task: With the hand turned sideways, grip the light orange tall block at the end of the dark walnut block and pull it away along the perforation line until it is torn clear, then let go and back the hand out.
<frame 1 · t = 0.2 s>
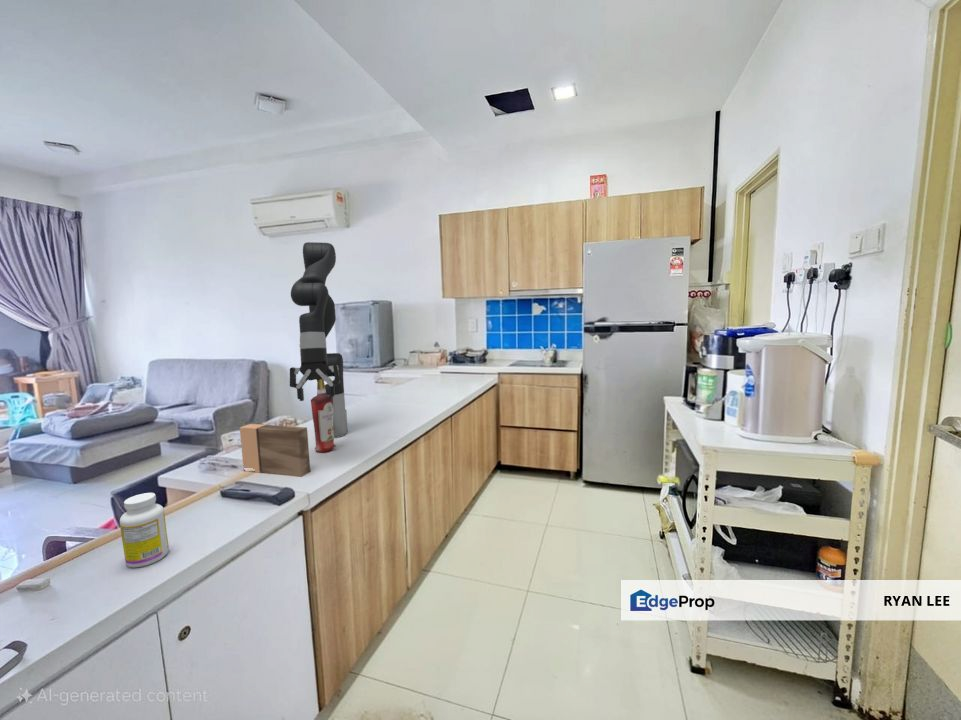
hand: (316, 399, 119), 22 cm above the worktop, fingers open, 8 cm apart
liquor: (325, 451, 138), on the worktop
ticket block: (285, 473, 119), on the worktop
supplement bottle: (148, 559, 77), on the worktop
light orange tall block: (254, 447, 120), point 7 cm above the worktop, slide at 0.0 cm
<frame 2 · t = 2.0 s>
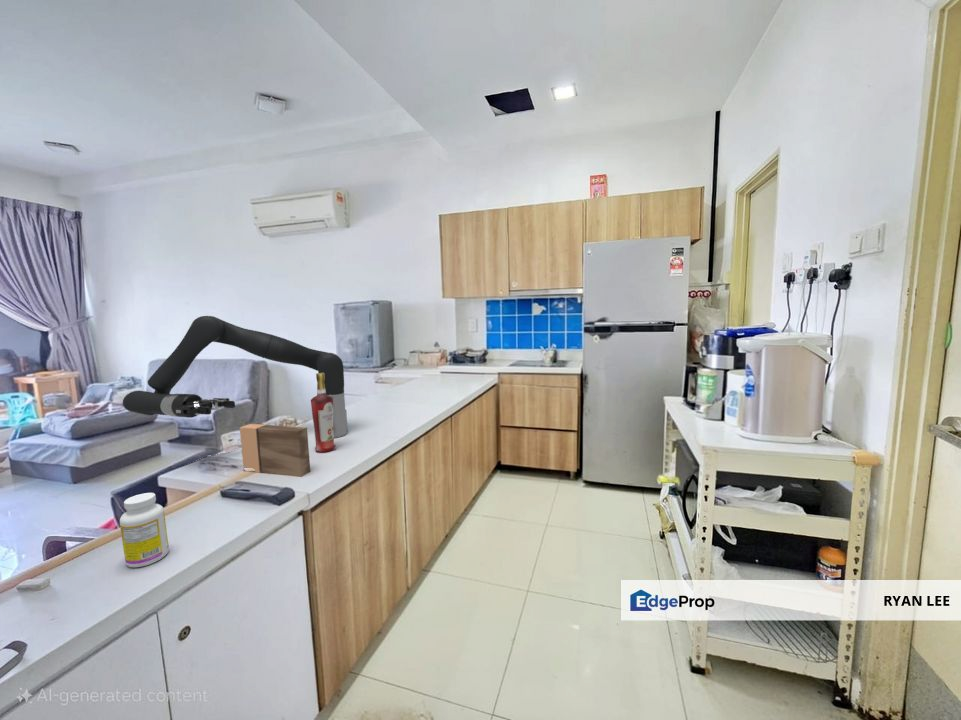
hand: (222, 407, 121), 20 cm above the worktop, fingers open, 8 cm apart
nothing on the worktop moved.
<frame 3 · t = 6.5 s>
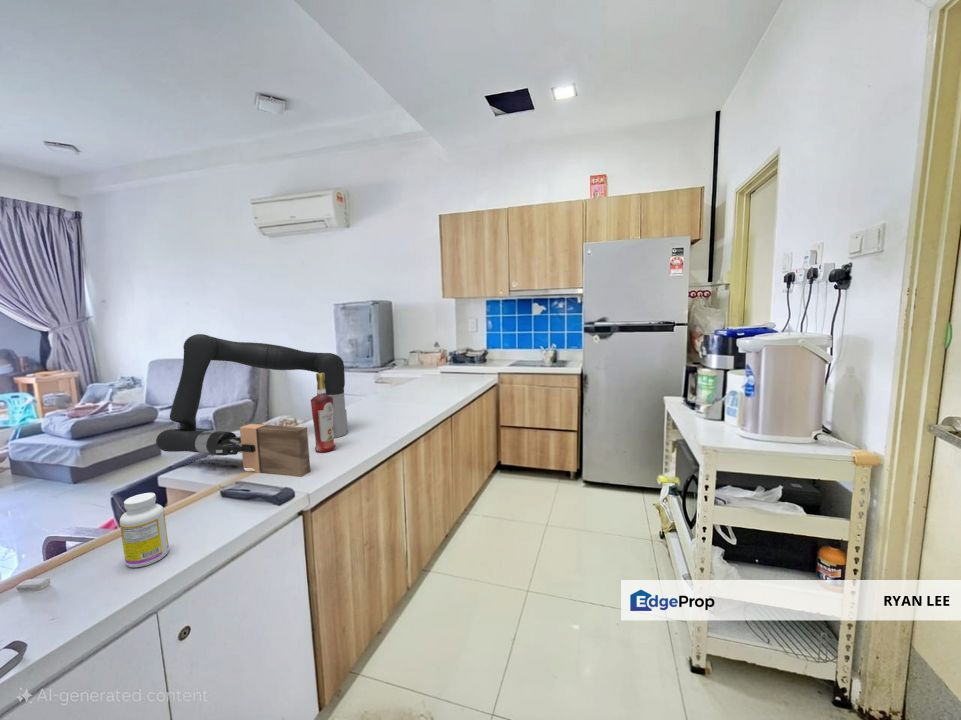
hand: (260, 446, 120), 8 cm above the worktop, fingers closed on light orange tall block, 4 cm apart
light orange tall block: (254, 447, 120), point 7 cm above the worktop, slide at 0.0 cm, touching gripper
everything else where it was.
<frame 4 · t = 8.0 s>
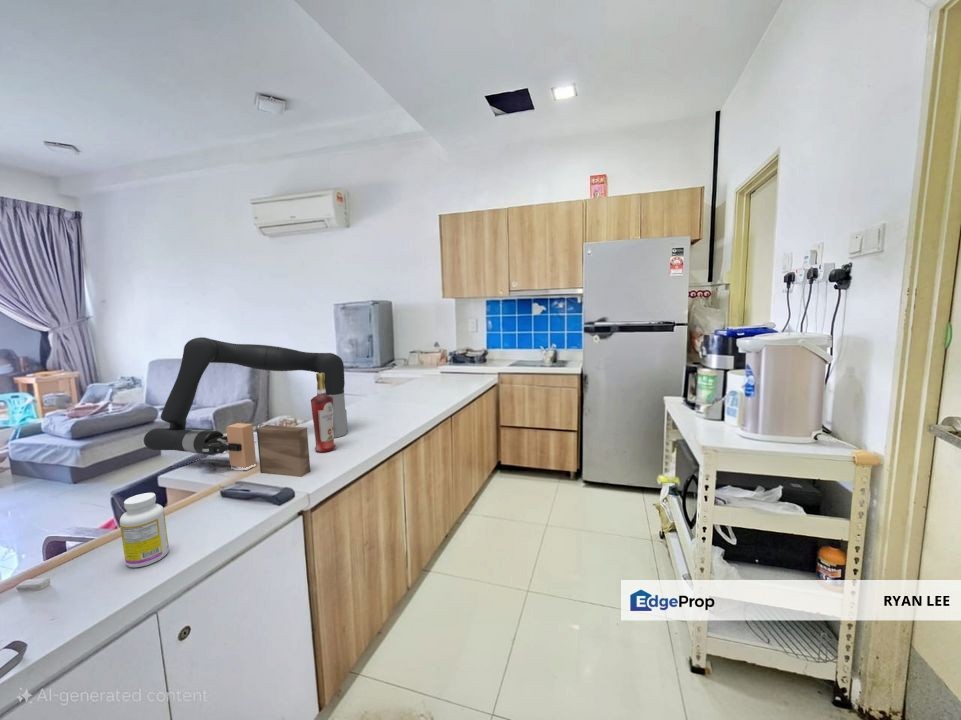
hand: (246, 445, 121), 8 cm above the worktop, fingers closed on light orange tall block, 4 cm apart
light orange tall block: (241, 446, 122), point 7 cm above the worktop, slide at 5.1 cm, touching gripper
everything else where it was.
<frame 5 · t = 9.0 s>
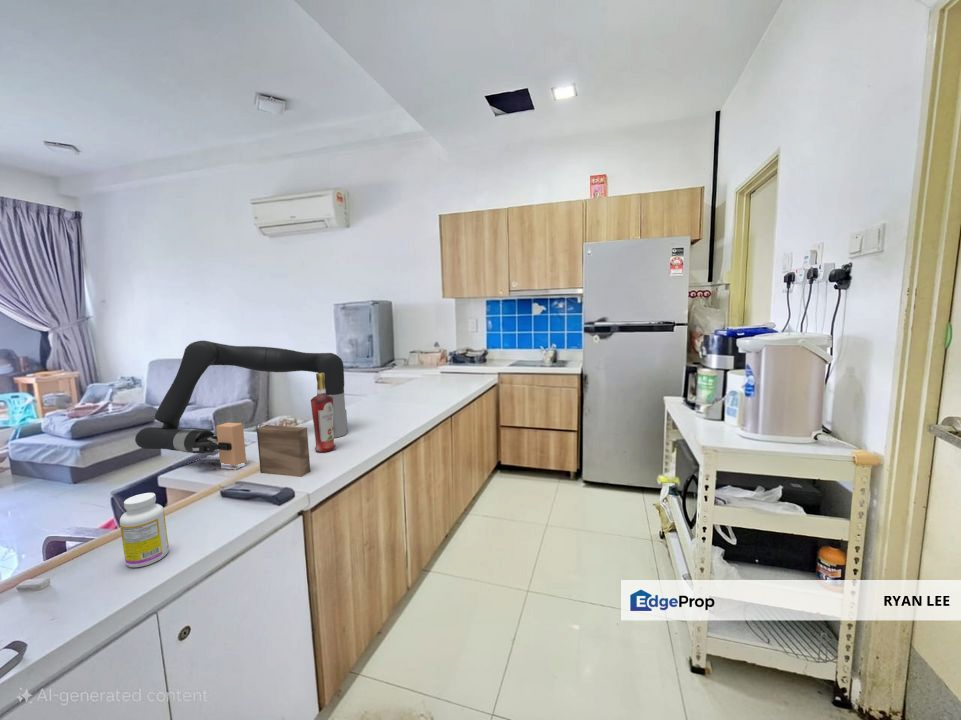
hand: (236, 444, 122), 8 cm above the worktop, fingers closed on light orange tall block, 4 cm apart
light orange tall block: (231, 446, 123), point 7 cm above the worktop, slide at 9.0 cm, touching gripper
everything else where it was.
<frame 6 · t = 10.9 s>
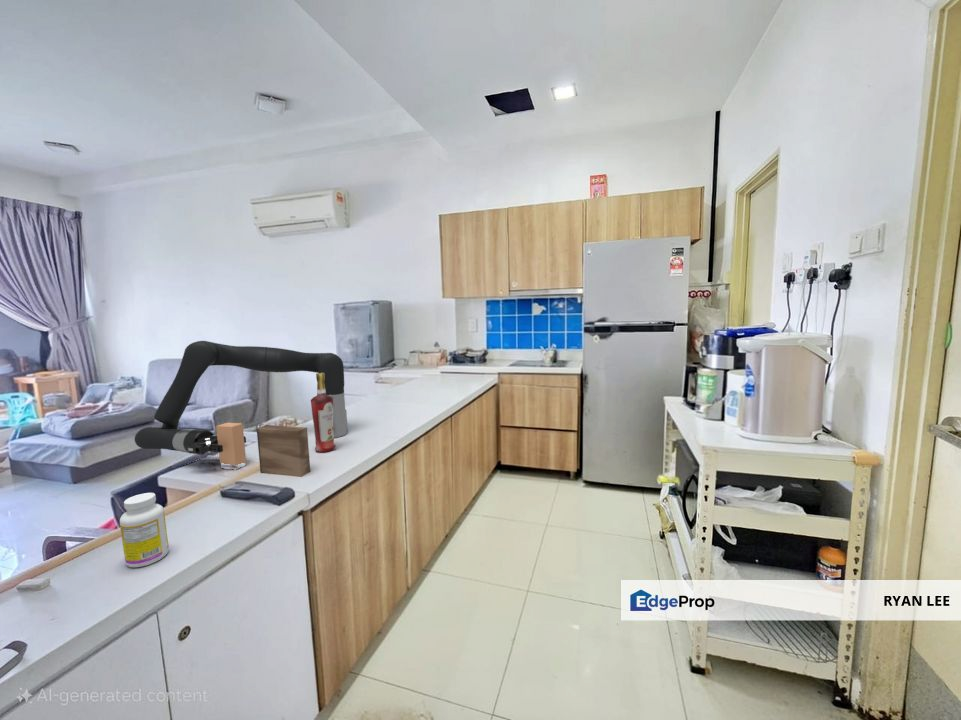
hand: (233, 444, 122), 8 cm above the worktop, fingers open, 8 cm apart
light orange tall block: (231, 446, 123), point 7 cm above the worktop, slide at 9.0 cm
everything else where it was.
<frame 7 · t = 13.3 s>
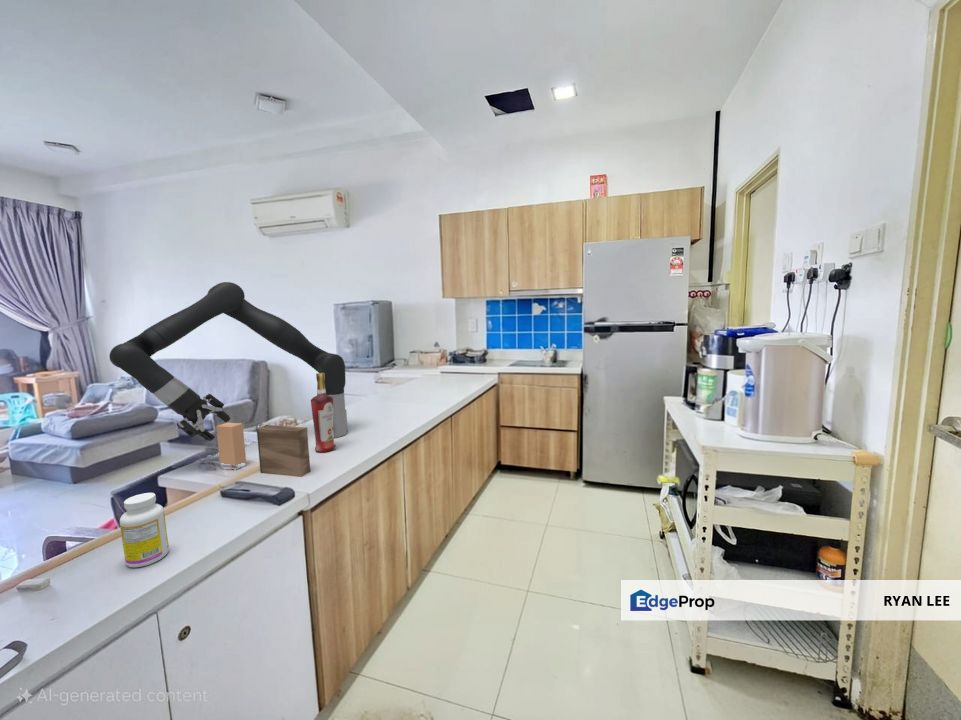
hand: (220, 429, 125), 12 cm above the worktop, fingers open, 8 cm apart
nothing on the worktop moved.
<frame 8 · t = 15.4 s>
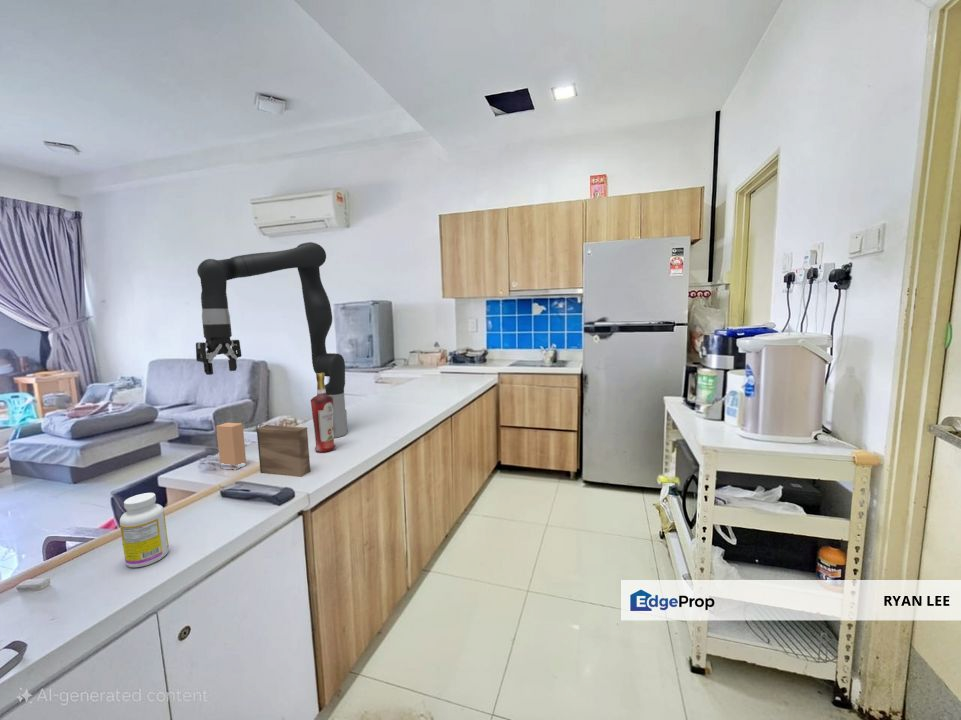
hand: (221, 372, 126), 30 cm above the worktop, fingers open, 8 cm apart
nothing on the worktop moved.
at the end: light orange tall block slide at 9.0 cm; the gripper is holding nothing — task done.
